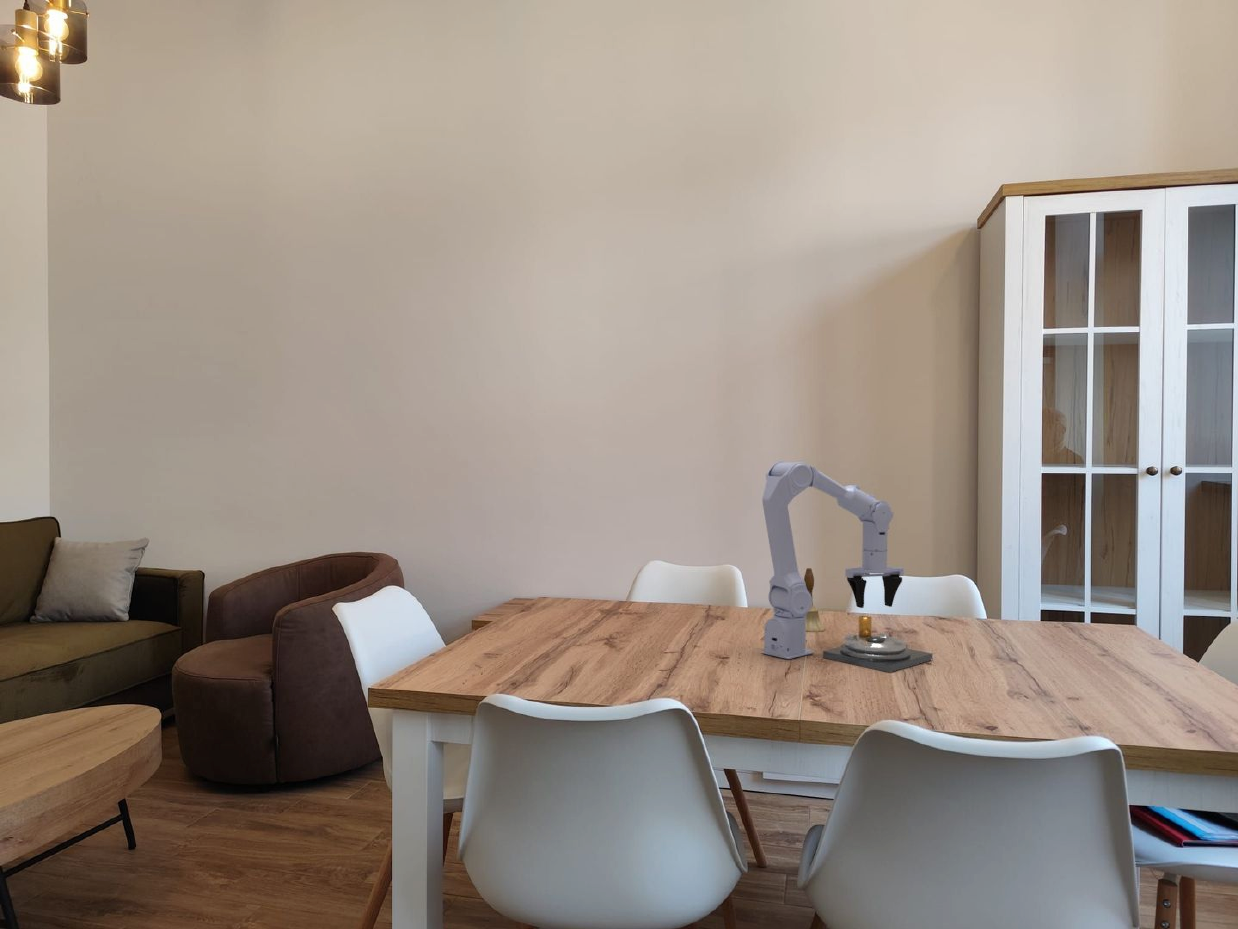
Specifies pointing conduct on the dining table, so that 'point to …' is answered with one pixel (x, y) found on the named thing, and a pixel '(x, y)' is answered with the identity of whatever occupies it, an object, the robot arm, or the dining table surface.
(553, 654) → the dining table surface
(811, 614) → the hand bell
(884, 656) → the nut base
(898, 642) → the grey crank wheel
